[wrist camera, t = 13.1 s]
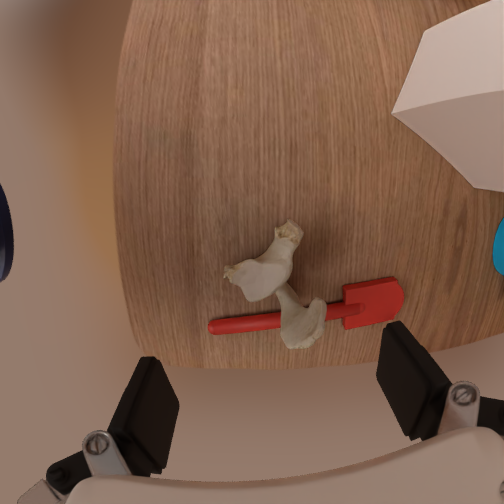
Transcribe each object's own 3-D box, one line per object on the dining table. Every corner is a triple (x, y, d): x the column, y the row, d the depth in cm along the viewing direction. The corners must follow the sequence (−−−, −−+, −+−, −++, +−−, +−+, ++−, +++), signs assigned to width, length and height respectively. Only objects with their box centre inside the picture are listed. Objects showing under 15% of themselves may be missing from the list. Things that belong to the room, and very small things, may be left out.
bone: (208, 211, 20) (296, 259, 12) (279, 202, 23) (378, 236, 15) (214, 310, 23) (283, 388, 15) (276, 291, 26) (353, 348, 18)
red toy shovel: (213, 341, 25) (211, 350, 24) (203, 304, 24) (201, 312, 23) (397, 312, 24) (403, 319, 23) (401, 274, 23) (408, 280, 22)
